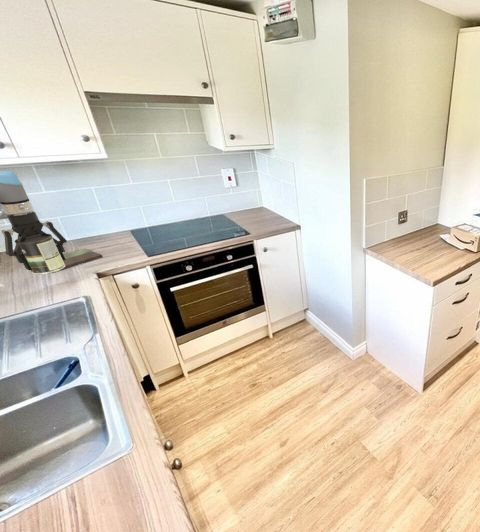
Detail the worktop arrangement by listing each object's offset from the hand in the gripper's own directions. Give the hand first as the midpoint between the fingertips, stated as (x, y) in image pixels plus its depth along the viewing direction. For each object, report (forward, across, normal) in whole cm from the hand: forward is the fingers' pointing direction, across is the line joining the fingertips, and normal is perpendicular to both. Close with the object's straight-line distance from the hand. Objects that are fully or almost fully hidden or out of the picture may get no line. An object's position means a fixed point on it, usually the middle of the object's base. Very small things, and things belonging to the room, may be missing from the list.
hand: (46, 264), depth 134 cm
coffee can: (+2, 0, 0) cm, 2 cm away
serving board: (+12, +15, +29) cm, 35 cm away
